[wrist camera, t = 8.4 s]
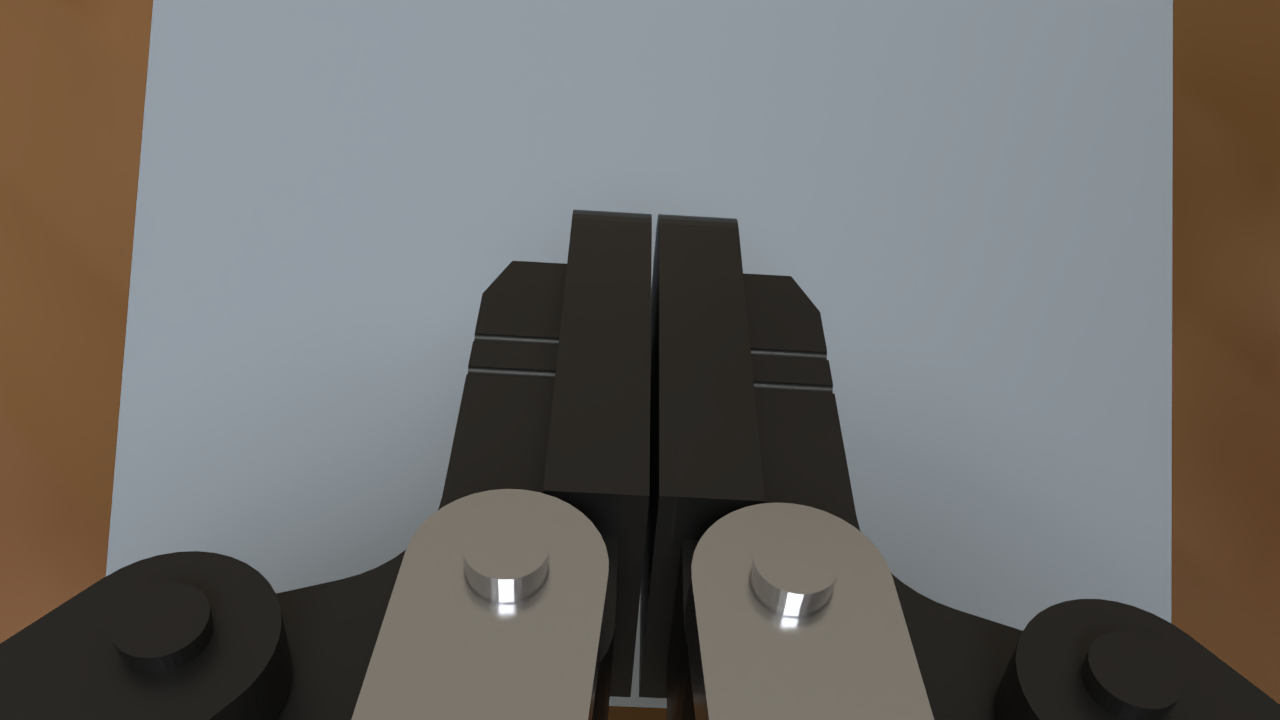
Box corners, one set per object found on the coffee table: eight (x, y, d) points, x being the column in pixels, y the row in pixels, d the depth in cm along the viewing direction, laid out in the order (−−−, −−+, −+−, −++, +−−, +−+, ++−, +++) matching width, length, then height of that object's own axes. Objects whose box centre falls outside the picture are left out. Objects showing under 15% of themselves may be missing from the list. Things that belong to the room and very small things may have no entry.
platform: (1012, 652, 21) (1170, 727, 15) (243, 621, 21) (96, 686, 15) (1023, -83, 22) (1173, -281, 16) (297, -122, 22) (181, -338, 16)
